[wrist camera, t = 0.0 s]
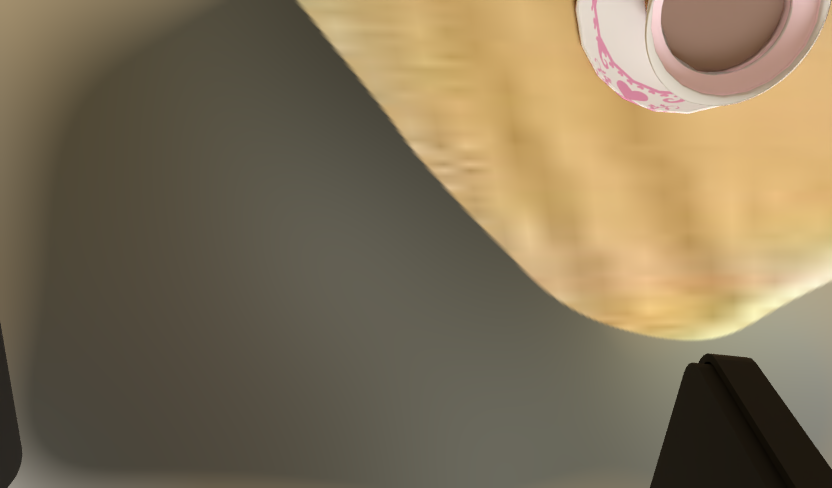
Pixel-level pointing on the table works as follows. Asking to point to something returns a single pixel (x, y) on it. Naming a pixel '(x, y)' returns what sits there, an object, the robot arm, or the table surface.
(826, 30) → the table surface
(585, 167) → the table surface
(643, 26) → the teacup
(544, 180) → the table surface
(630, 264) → the table surface
